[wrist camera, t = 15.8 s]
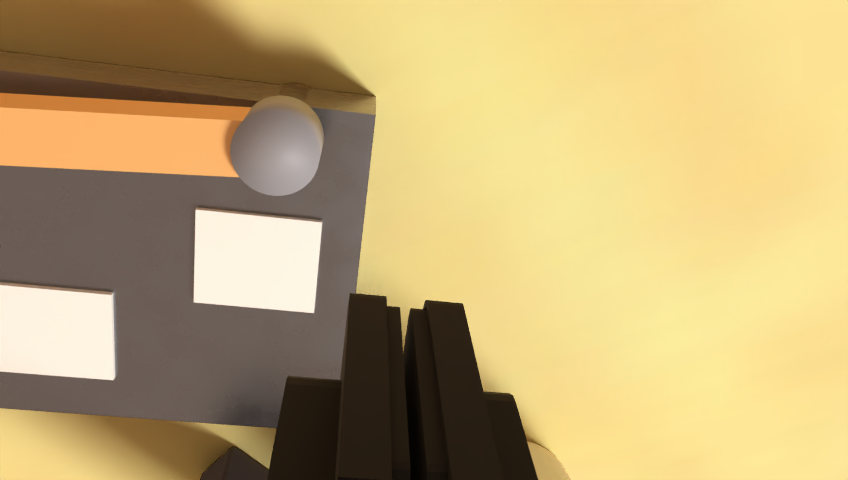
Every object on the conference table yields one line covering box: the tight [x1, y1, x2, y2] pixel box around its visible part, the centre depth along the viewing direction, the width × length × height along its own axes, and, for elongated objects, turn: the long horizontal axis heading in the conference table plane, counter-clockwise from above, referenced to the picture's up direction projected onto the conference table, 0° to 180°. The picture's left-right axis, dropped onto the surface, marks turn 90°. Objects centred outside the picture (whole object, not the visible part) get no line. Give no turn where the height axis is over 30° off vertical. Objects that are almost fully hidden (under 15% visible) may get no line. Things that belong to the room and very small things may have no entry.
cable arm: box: [0, 93, 324, 196], centre depth 31 cm, size 20×4×3 cm, turn 86°
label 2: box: [194, 207, 322, 313], centre depth 37 cm, size 6×5×1 cm
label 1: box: [0, 282, 115, 380], centre depth 38 cm, size 6×5×1 cm
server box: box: [0, 51, 376, 428], centre depth 38 cm, size 22×18×6 cm
